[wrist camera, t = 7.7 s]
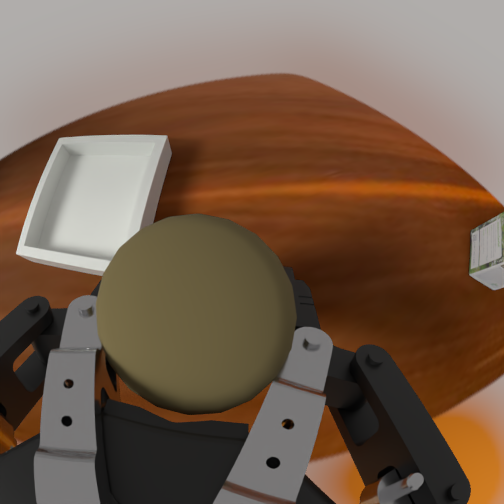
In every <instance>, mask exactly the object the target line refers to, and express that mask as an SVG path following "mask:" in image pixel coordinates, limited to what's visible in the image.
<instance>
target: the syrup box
mask: <svg viewBox="0 0 504 504" xmlns="http://www.w3.org/2000/svg"><path fill="white" fill-rule="evenodd" d="M469 275H470V276H471V277H473V278H474V279H476V280H477V281H479V282H481V283H482V284H484V285H486V286H487V287H489V288H491V289H492V290H497V289H500V288H503V287H504V212H503V213H501V214H499V215H498V216H496V217H494V218H492V219H491V220H489V221H487V222H485V223H484V224H482V225H480V226H478V227H476V228H475V229H473V230H471V247H470V267H469Z"/></svg>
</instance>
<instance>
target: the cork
mask: <svg viewBox="0 0 504 504" xmlns="http://www.w3.org/2000/svg"><path fill="white" fill-rule="evenodd" d="M96 317H97V331H98V336H99V339H100V342H101V345H102V347H103V350H104V352H105V355H106V357H107V360H108V362H109V364H110V366H111V367H112V368H113V369H114V371H115V372H116V373H117V374H118V376H119V377H120V378H121V379H122V381H123V382H124V383H125V384H126V385H127V387H128V388H129V389H130V390H132V391H133V392H135V393H136V394H138V395H139V396H141V397H142V398H144V399H146V400H147V401H149V402H150V403H152V404H153V405H155V406H157V407H160V408H164V409H167V410H171V411H175V412H179V413H183V414H187V415H196V414H210V413H221V412H224V411H226V410H229V409H231V408H234V407H236V406H238V405H241V404H243V403H245V402H247V401H250V400H252V399H253V398H254V397H255V396H256V395H257V394H259V393H260V392H261V391H262V390H263V389H264V388H265V387H266V386H267V385H268V384H270V383H271V382H272V381H273V380H274V378H276V376H277V375H278V373H279V371H280V369H281V367H282V366H283V364H284V362H285V360H286V358H287V356H288V355H289V353H290V351H291V349H292V343H293V337H294V332H295V326H296V320H297V314H296V307H295V300H294V294H293V287H292V284H291V282H290V280H289V278H288V276H287V274H286V272H285V270H284V268H283V266H282V264H281V262H280V260H279V258H278V256H277V255H276V254H275V253H274V252H273V251H272V250H271V249H270V248H269V247H268V246H267V245H266V244H265V243H264V242H263V241H262V240H261V239H260V238H259V237H258V236H257V235H256V234H255V233H253V232H251V231H249V230H247V229H245V228H244V227H242V226H240V225H238V224H236V223H234V222H233V221H231V220H229V219H224V218H219V217H214V216H209V215H204V214H190V215H180V216H171V217H167V218H165V219H163V220H160V221H158V222H156V223H153V224H151V225H149V226H146V227H144V228H142V229H141V230H139V231H138V232H137V233H136V234H135V235H134V236H132V237H131V238H130V239H129V240H128V241H127V242H125V243H124V244H123V245H122V246H121V247H120V248H119V249H118V251H117V252H116V254H115V255H114V257H113V258H112V260H111V262H110V263H109V265H108V267H107V268H106V270H105V272H104V273H103V276H102V280H101V284H100V288H99V292H98V296H97V300H96Z"/></svg>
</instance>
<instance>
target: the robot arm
mask: <svg viewBox="0 0 504 504" xmlns="http://www.w3.org/2000/svg"><path fill="white" fill-rule="evenodd" d="M283 268H284V270H285V272H286V274H287V276H288V278H289V280H290V282H291V284H292V287H293V294H294V300H295V307H296V314H297V320H296V326H295V332H294V337H293V343H292V349H291V351H290V353H289V355H288V356H287V358H286V360H285V362H284V364H283V366H282V367H281V369H280V371H279V373H278V375H277V376H276V378H274V380H273V382H272V384H271V387H270V389H269V391H268V393H267V396H266V398H265V400H264V403H263V405H262V407H261V409H260V412H259V414H258V416H257V418H256V420H255V423H254V425H253V427H252V429H251V431H250V433H248V424H244V423H232V422H222V421H213V420H211V421H199V422H182V423H174V422H170V421H168V420H166V419H164V418H161V417H159V416H157V415H155V414H153V413H151V412H149V411H146V410H144V409H142V408H140V407H137V406H133V405H129V404H126V403H122V402H121V399H120V387H119V376H118V374H117V373H116V372H115V371H114V369H113V368H112V367H111V366H110V364H109V362H108V360H107V357H106V355H105V352H104V350H103V347H102V345H101V342H100V339H99V336H98V331H97V317H96V300H97V296H98V292H99V288H100V284H101V281H100V282H99V284H98V285H97V286H96V288H95V289H94V291H93V292H92V293H91V295H87V296H82V297H79V298H77V299H75V300H74V301H72V302H71V303H70V305H69V307H68V308H63V309H51V307H50V305H49V302H48V300H47V299H46V298H44V297H41V296H34V297H30V298H28V299H26V300H25V301H23V302H22V303H21V304H20V305H18V306H17V307H16V308H15V309H14V310H13V311H11V312H10V313H9V314H8V315H7V316H6V317H5V318H3V319H2V320H1V321H0V504H336V503H335V502H334V501H332V500H331V499H330V498H329V497H328V496H327V495H326V494H325V493H324V492H323V491H321V489H320V488H319V487H317V486H316V485H315V484H314V483H313V482H312V481H311V480H310V479H309V478H308V477H307V476H306V475H305V472H306V469H307V466H308V463H309V460H310V456H311V453H312V450H313V446H314V443H315V439H316V436H317V432H318V429H319V425H320V421H321V417H322V413H323V409H324V405H328V407H329V410H330V412H331V414H332V416H333V418H334V420H335V422H336V424H337V427H338V429H339V431H340V433H341V435H342V437H343V439H344V442H345V444H346V446H347V448H348V450H349V452H350V454H351V456H352V459H353V461H354V463H355V465H356V467H357V469H358V471H359V474H360V476H361V478H362V480H363V482H364V484H365V488H364V489H363V491H362V493H361V496H360V504H467V502H468V500H469V497H470V492H471V488H470V483H469V481H468V479H467V477H466V475H465V473H464V472H463V470H462V468H461V467H460V464H459V463H458V461H457V459H456V457H455V456H454V454H453V452H452V451H451V449H450V447H449V446H448V444H447V442H446V441H445V439H444V437H443V436H442V434H441V433H440V431H439V429H438V428H437V426H436V424H435V423H434V421H433V420H432V418H431V416H430V415H429V413H428V412H427V410H426V409H425V407H424V405H423V404H422V402H421V401H420V399H419V398H418V396H417V395H416V393H415V392H414V390H413V389H412V387H411V386H410V384H409V383H408V381H407V380H406V378H405V377H404V375H403V374H402V372H401V371H400V369H399V368H398V367H397V365H396V364H395V362H394V361H393V359H392V358H391V356H390V355H389V354H388V353H387V352H386V351H385V350H384V349H382V348H381V347H378V346H375V345H363V346H361V347H360V348H358V350H357V351H356V353H354V352H351V351H347V350H344V349H340V348H338V347H336V346H334V345H333V343H332V340H331V338H330V337H329V336H328V335H327V334H326V333H325V332H323V331H322V330H321V329H320V325H319V321H318V317H317V313H316V310H315V306H314V302H313V299H312V295H311V291H310V288H309V287H308V286H307V285H306V284H305V282H304V281H302V280H295V278H294V273H293V269H292V267H285V266H283ZM30 344H32V346H33V348H34V350H35V351H34V352H33V353H32V354H31V355H30V356H29V358H28V359H27V360H26V361H25V362H24V363H23V364H22V365H21V366H20V367H19V368H18V369H17V370H16V371H15V372H14V371H13V363H14V361H15V359H16V358H17V357H18V356H19V355H20V354H21V353H22V352H23V351H24V350H25V349H26V348H27V347H28V346H29V345H30ZM42 395H43V401H42V412H41V428H40V433H39V434H37V435H35V436H34V437H32V438H30V439H28V440H26V441H25V442H23V443H21V444H19V445H17V441H16V439H15V438H14V431H15V430H16V428H17V427H18V426H19V425H20V423H21V422H22V421H23V419H24V418H25V417H26V415H27V414H28V413H29V412H30V410H31V409H32V408H33V407H34V405H35V404H36V403H37V402H38V400H39V399H40V398H41V397H42Z"/></svg>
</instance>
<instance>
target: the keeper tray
mask: <svg viewBox="0 0 504 504" xmlns="http://www.w3.org/2000/svg"><path fill="white" fill-rule="evenodd" d="M171 155H172V152H171V148H170V144H169V140H168V137H167V136H166V135H97V136H78V137H64V138H59V140H58V142H57V144H56V146H55V148H54V150H53V152H52V154H51V156H50V158H49V161H48V163H47V165H46V167H45V170H44V172H43V174H42V177H41V179H40V181H39V184H38V186H37V189H36V192H35V194H34V197H33V200H32V202H31V205H30V208H29V211H28V214H27V217H26V220H25V223H24V227H23V230H22V233H21V237H20V241H19V244H18V248H17V252H16V254H18V255H20V256H22V257H24V258H26V259H28V260H30V261H32V262H36V263H41V264H45V265H50V266H55V267H59V268H64V269H69V270H74V271H79V272H84V273H89V274H94V275H100V276H103V273H104V272H105V270H106V268H107V267H108V265H109V263H110V262H111V260H112V258H113V257H114V255H115V254H116V252H117V251H118V249H119V248H120V247H121V246H122V245H123V244H124V243H125V242H127V241H128V240H129V239H130V238H131V237H132V236H134V235H135V234H136V233H137V232H138V231H139V230H141V229H142V228H144V227H146V226H149V225H151V224H153V222H154V217H155V213H156V209H157V205H158V201H159V197H160V194H161V190H162V186H163V183H164V179H165V175H166V172H167V169H168V165H169V162H170V159H171Z"/></svg>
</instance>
